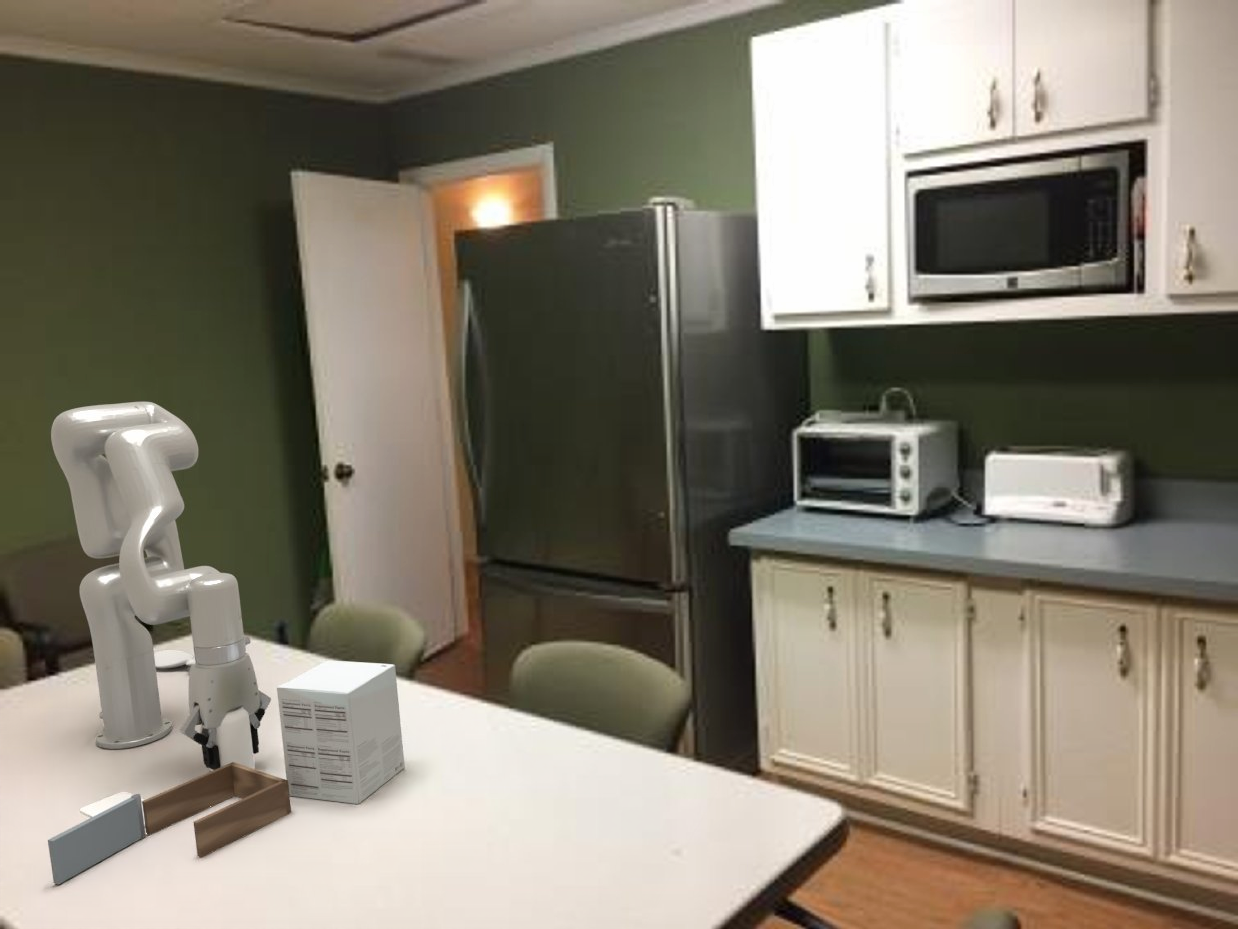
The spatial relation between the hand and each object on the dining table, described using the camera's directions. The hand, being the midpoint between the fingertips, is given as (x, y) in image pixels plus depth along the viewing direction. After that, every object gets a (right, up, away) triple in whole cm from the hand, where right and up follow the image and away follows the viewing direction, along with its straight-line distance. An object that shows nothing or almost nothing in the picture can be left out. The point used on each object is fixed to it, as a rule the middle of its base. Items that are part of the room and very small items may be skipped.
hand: (232, 759), depth 164 cm
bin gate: (-9, -7, -24) cm, 26 cm away
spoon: (-29, +2, +55) cm, 62 cm away
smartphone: (-12, -6, -10) cm, 17 cm away
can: (0, -3, 0) cm, 3 cm away
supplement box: (+19, -3, -4) cm, 20 cm away
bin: (+4, -5, -15) cm, 17 cm away
